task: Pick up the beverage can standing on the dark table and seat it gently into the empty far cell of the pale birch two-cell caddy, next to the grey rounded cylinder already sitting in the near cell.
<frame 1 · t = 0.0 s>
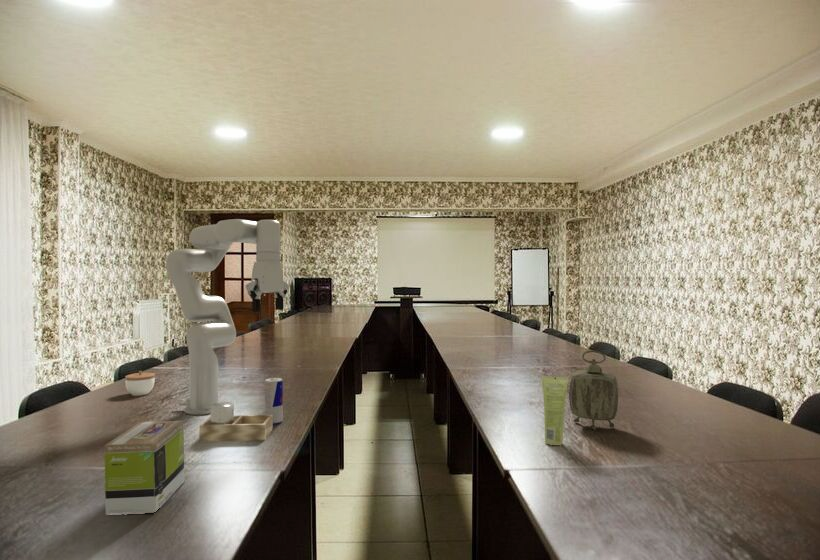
hand: (268, 310, 150), 37 cm above the table, tool pointing down, fingers open, 9 cm apart
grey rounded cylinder: (222, 435, 136), point 1 cm above the table, touching caddy
caddy: (237, 438, 137), on the table
tube: (554, 444, 134), on the table
tabletop clock: (593, 428, 148), on the table
tea box: (147, 499, 99), on the table
beverage can: (273, 425, 149), on the table
lidded jar: (140, 394, 190), on the table
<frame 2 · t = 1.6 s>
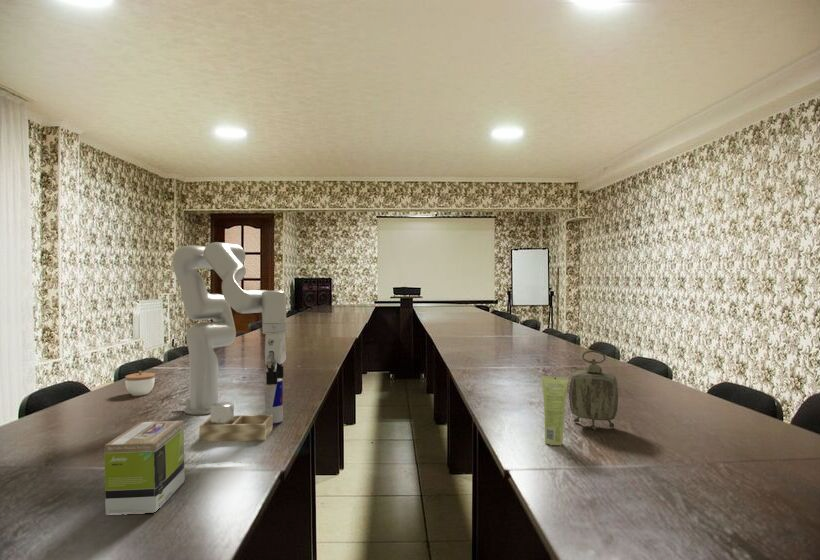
hand: (275, 381, 149), 14 cm above the table, tool pointing down, fingers open, 9 cm apart
nothing on the table moved.
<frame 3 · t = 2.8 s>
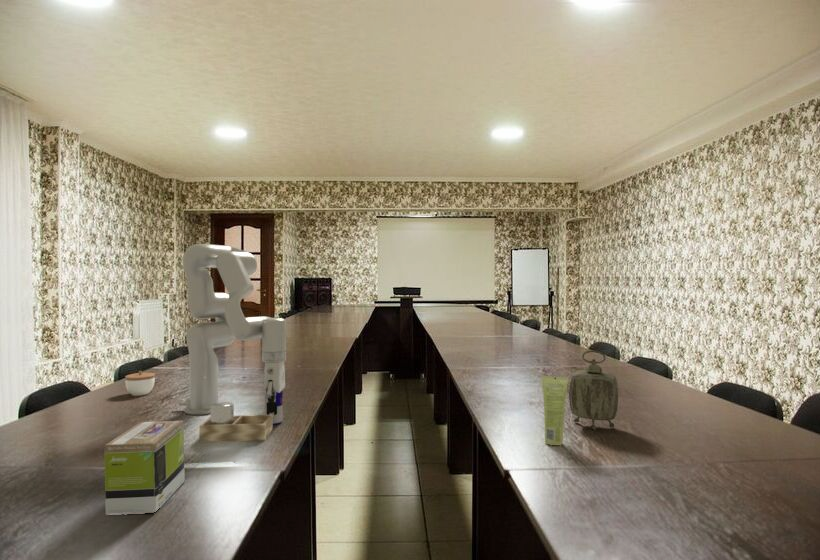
hand: (273, 411, 149), 4 cm above the table, tool pointing down, fingers closed on beverage can, 4 cm apart
beverage can: (273, 426, 149), on the table, touching gripper
everything else where it was.
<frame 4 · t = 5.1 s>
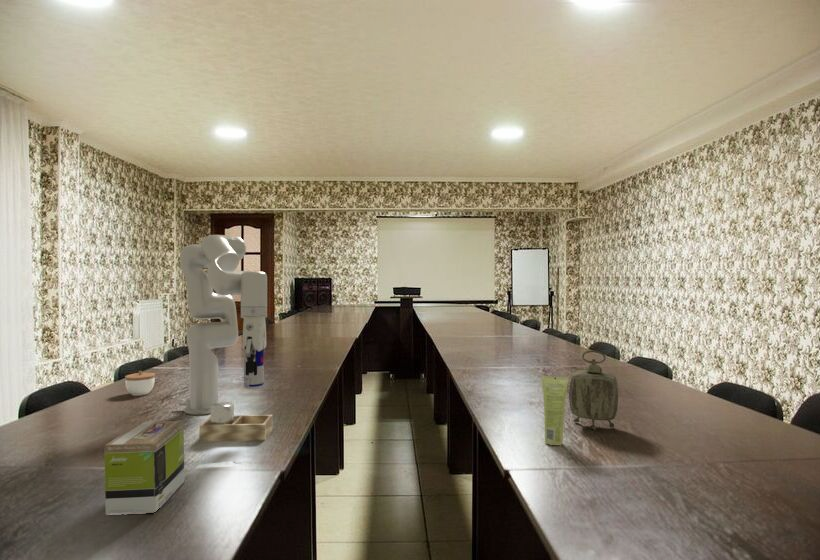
hand: (253, 372, 138), 19 cm above the table, tool pointing down, fingers closed on beverage can, 4 cm apart
beverage can: (253, 388, 137), point 15 cm above the table, touching gripper
everything else where it was.
when the fingers open (7 cm above the table, at t = 7.4 s): beverage can drops 2 cm, resting on caddy.
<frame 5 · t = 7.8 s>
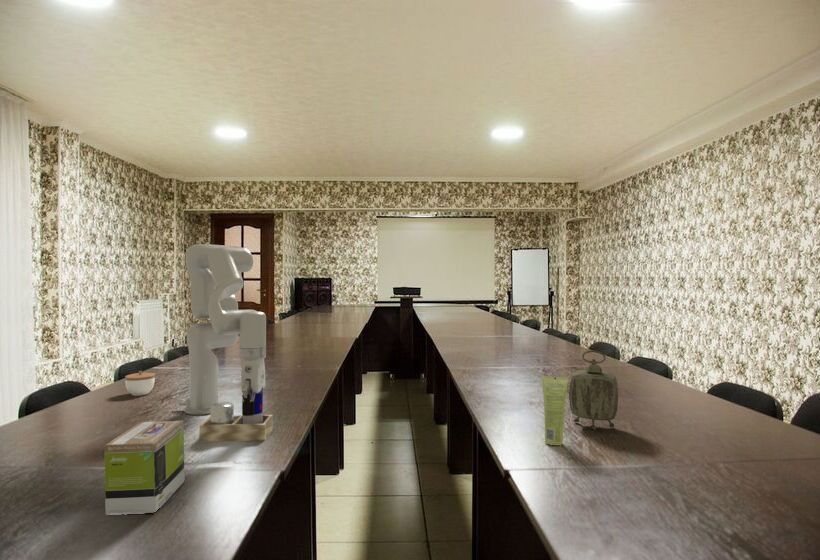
hand: (252, 410, 137), 8 cm above the table, tool pointing down, fingers open, 9 cm apart
beverage can: (252, 435, 137), point 1 cm above the table, touching caddy
everything else where it was.
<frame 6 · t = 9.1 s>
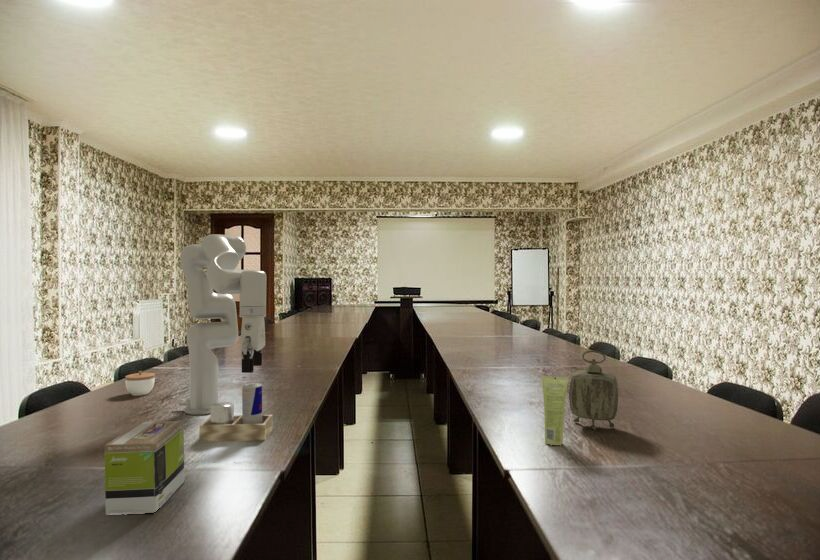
hand: (252, 368, 137), 21 cm above the table, tool pointing down, fingers open, 9 cm apart
nothing on the table moved.
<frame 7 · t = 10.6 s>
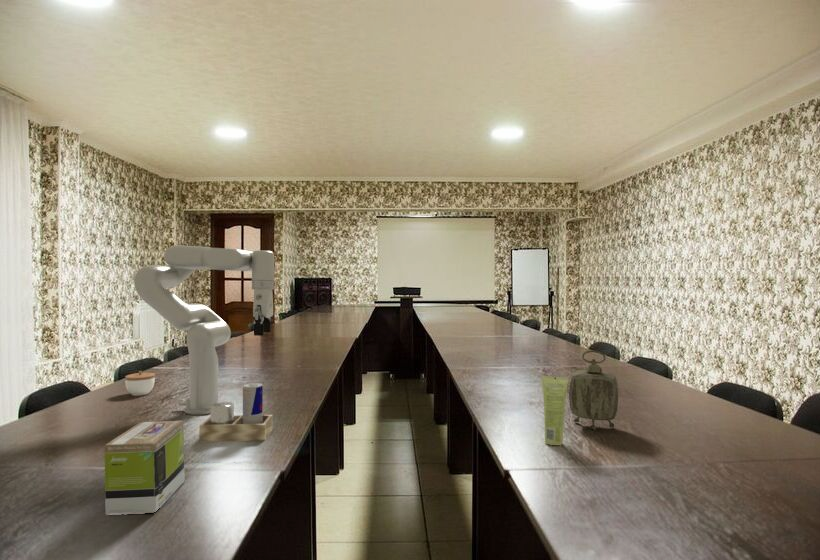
hand: (262, 333, 163), 28 cm above the table, tool pointing down, fingers open, 9 cm apart
nothing on the table moved.
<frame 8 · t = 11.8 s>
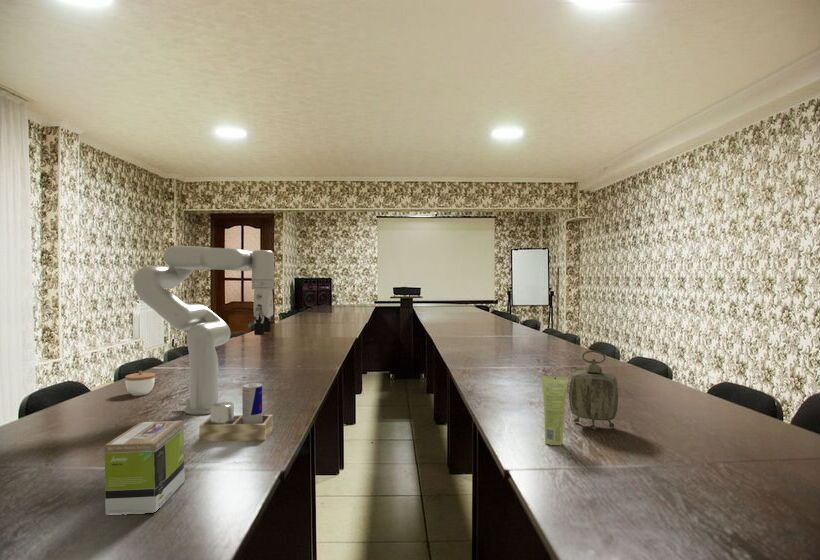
hand: (262, 333, 163), 28 cm above the table, tool pointing down, fingers open, 9 cm apart
nothing on the table moved.
at the end: beverage can 0.3 cm from the target spot on the caddy, point 0.8 cm above the caddy's base; beverage can tilted 0°; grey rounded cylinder moved 0.2 cm from its start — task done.
